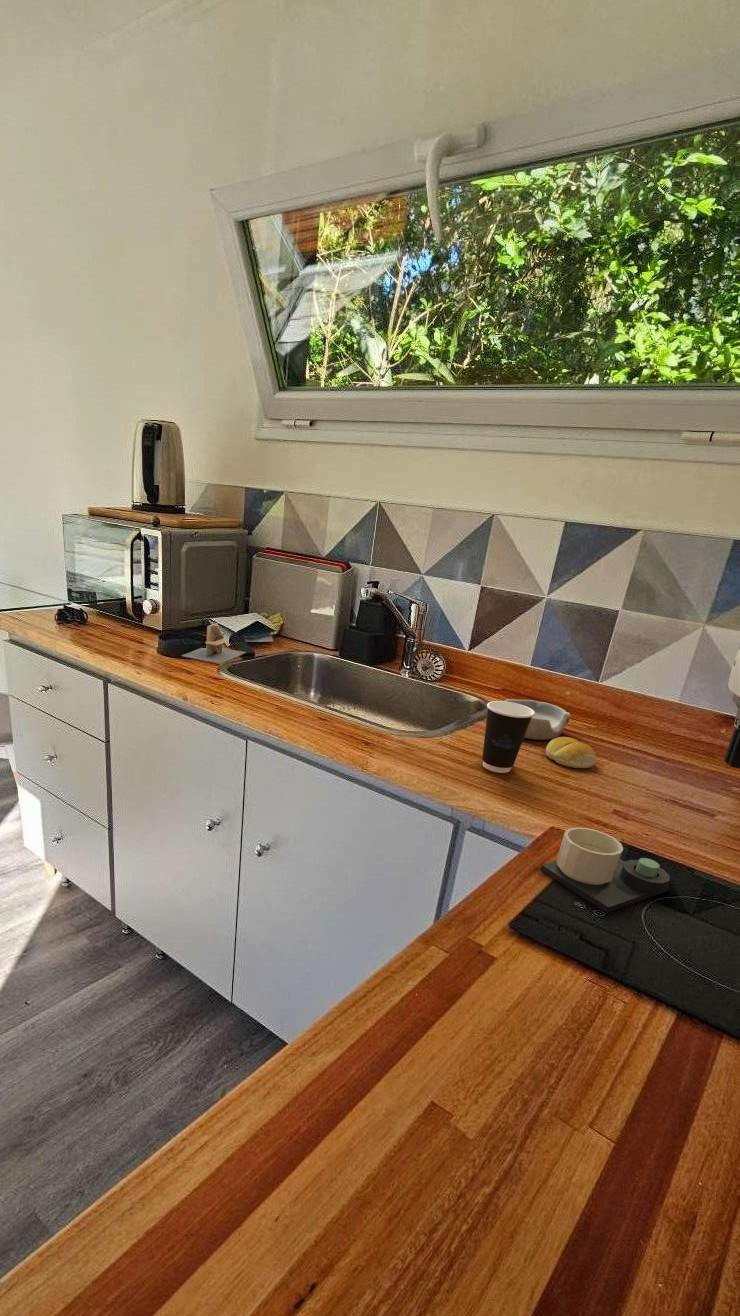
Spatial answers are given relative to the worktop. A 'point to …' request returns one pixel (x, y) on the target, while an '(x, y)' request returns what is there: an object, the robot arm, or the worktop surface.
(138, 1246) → the worktop surface
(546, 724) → the dish
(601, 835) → the bowl
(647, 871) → the button
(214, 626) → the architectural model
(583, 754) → the bread roll
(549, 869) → the scale
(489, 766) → the dixie cup
